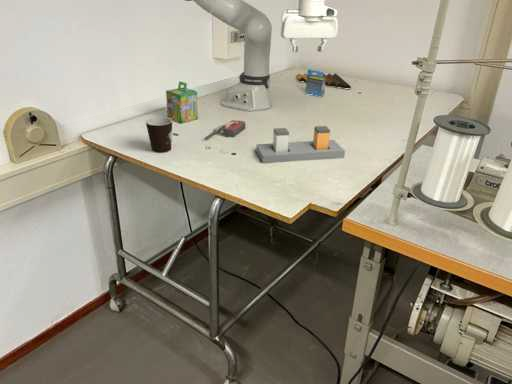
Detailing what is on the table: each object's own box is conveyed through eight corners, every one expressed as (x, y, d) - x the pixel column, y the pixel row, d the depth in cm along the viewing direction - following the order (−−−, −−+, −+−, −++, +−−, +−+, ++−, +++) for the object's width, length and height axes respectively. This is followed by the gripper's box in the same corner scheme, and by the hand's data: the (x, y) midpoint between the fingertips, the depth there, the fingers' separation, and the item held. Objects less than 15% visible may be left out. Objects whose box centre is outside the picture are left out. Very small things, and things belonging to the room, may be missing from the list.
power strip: (262, 163, 132) (263, 156, 131) (256, 151, 141) (256, 144, 140) (344, 157, 138) (345, 150, 137) (332, 146, 147) (333, 139, 145)
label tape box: (324, 95, 206) (327, 70, 200) (321, 97, 203) (323, 72, 197) (308, 92, 210) (310, 68, 204) (305, 94, 207) (307, 69, 201)
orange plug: (315, 155, 139) (318, 130, 135) (312, 151, 142) (314, 126, 138) (327, 155, 140) (330, 130, 135) (323, 150, 143) (326, 125, 139)
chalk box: (167, 118, 168) (164, 82, 161) (184, 113, 174) (182, 78, 167) (181, 124, 163) (178, 86, 156) (198, 119, 169) (197, 82, 162)
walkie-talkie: (227, 125, 165) (203, 141, 149) (227, 114, 163) (202, 130, 146) (247, 128, 162) (225, 145, 146) (247, 117, 160) (224, 133, 144)
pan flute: (350, 90, 218) (337, 79, 240) (351, 84, 216) (338, 73, 238) (304, 90, 215) (295, 79, 237) (304, 83, 214) (296, 73, 236)
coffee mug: (162, 156, 135) (159, 127, 130) (143, 150, 139) (140, 121, 134) (185, 145, 144) (183, 117, 139) (167, 140, 148) (164, 113, 143)
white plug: (275, 158, 136) (276, 132, 132) (272, 153, 139) (273, 128, 135) (287, 157, 137) (288, 132, 132) (283, 153, 140) (285, 128, 136)
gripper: (284, 10, 137) (282, 53, 144) (341, 11, 141) (337, 52, 148) (279, 8, 142) (277, 50, 149) (335, 9, 146) (330, 49, 153)
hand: (307, 51), depth 148 cm, fingers open, 8 cm apart
